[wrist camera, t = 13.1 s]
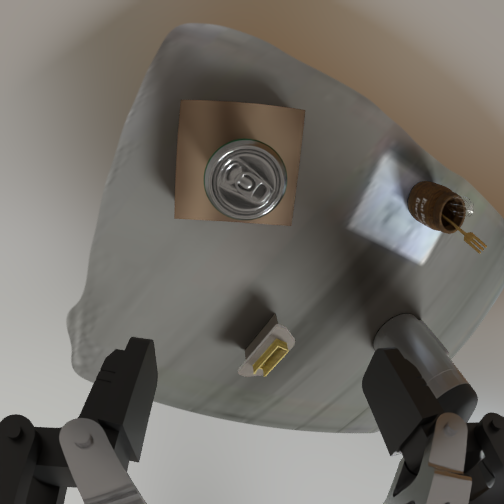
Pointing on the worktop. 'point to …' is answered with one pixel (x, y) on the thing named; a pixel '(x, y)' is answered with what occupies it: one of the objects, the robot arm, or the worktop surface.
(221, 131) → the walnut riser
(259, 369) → the grey flat gold-topped slab
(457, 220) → the utensil holder
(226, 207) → the soda can
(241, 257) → the worktop surface
